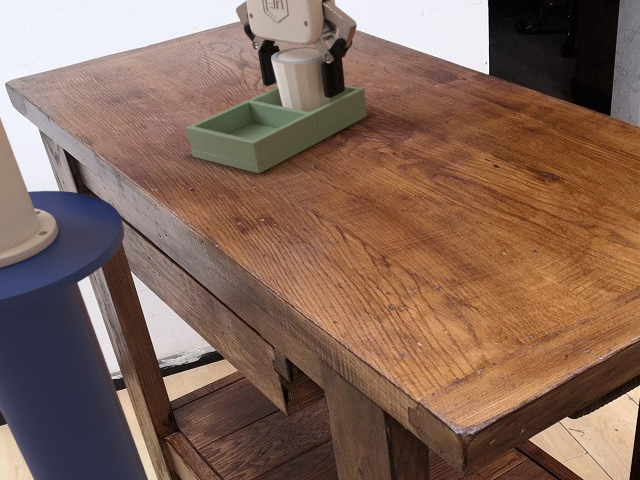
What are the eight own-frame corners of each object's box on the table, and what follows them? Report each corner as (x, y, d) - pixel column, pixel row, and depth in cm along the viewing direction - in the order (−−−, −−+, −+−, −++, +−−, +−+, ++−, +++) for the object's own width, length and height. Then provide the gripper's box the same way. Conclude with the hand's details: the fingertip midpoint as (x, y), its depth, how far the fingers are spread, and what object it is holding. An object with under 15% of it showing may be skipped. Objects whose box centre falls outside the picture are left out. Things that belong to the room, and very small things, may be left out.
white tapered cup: (330, 122, 100) (323, 62, 96) (274, 123, 101) (264, 63, 96) (339, 103, 106) (332, 45, 101) (286, 104, 106) (277, 46, 102)
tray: (259, 174, 92) (253, 143, 90) (192, 157, 97) (185, 127, 95) (367, 116, 105) (364, 88, 103) (304, 103, 110) (300, 76, 107)
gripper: (200, -72, 92) (230, 87, 103) (321, -61, 84) (340, 109, 95) (247, -83, 97) (271, 70, 107) (366, -74, 89) (379, 89, 100)
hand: (303, 88), depth 101 cm, fingers open, 9 cm apart
